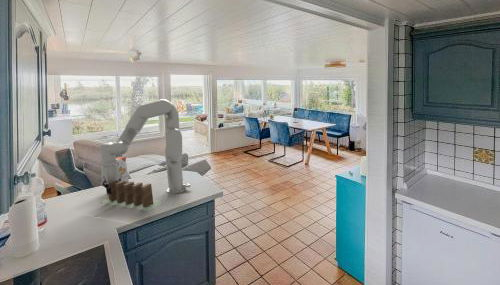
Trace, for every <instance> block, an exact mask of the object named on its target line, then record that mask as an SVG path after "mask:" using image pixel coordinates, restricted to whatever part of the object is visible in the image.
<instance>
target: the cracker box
mask: <svg viewBox="0 0 500 285" xmlns="http://www.w3.org/2000/svg"><path fill="white" fill-rule="evenodd" d="M126 158H127V157H126V156H116V159H117V162H116V163H117V165H118V167H119V171H120V175H122V176H123V177H122V179H121V181H126V183H128V182H129V175H128V167H127V159H126Z"/></svg>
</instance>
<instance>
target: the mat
mask: <svg viewBox="0 0 500 285" xmlns="http://www.w3.org/2000/svg"><path fill="white" fill-rule="evenodd" d="M163 203H164V201H159V200H153V204H151V205H150V206H148V207H143V204H140V205H138V206H134V202H133V203H131V204H129V205H128V204H125V201H124V202H122V203H117V199H115V200H113V201H109V197H108V198H106V199H105V200H102V201H99V204H104V205H105V204H106V205H110V206H111V205H112V206H117V207H124V208H130V209H135V210H142V211H147V212H148V211H152V210H153V209H155V208H156V207H158V206H160V205H161V204H163Z"/></svg>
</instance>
